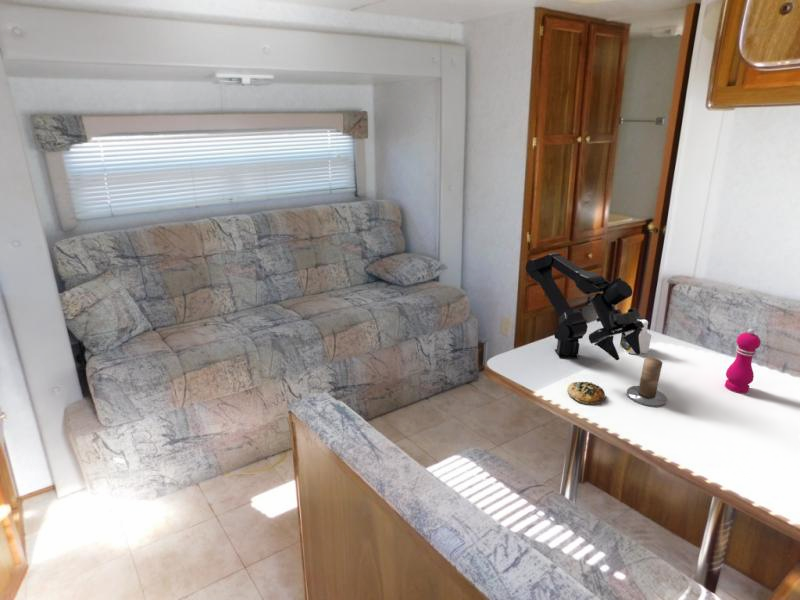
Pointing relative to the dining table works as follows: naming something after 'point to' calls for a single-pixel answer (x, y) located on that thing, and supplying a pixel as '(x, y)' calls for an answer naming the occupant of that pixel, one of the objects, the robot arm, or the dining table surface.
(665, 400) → the pad
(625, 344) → the medicine bottle
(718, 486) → the dining table surface
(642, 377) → the walnut post
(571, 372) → the dining table surface
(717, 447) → the dining table surface
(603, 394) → the bread roll
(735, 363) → the pepper mill
